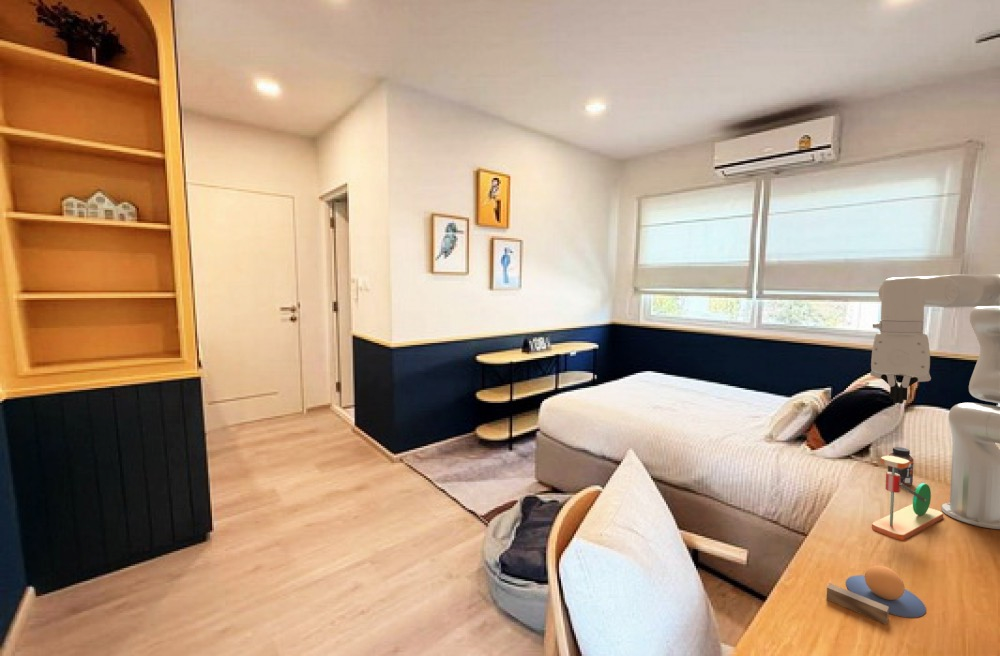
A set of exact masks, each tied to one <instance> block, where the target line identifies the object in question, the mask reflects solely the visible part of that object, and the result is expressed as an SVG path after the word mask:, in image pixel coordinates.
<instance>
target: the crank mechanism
mask: <svg viewBox="0 0 1000 656" xmlns="http://www.w3.org/2000/svg"><path fill="white" fill-rule="evenodd" d="M909 462H910V461H909V460H906V459H903V458H899V457H895V456H889V455H884V456H881V457H880V463H881V464H882V465H884V466H886V467H888V466H891V467H892V472H888V471H887V472H886V473H885V490H886V491H888V492H890V509H889V510H890V511H889V512H890V513H889V514H888V515H885V516H884V517H881V518H879V519H877V520H875V521H873V522H872V523H871V529H872V530H873V531H875V532H877V533H880V534H883V535H885V536H887V537H891V538H893V539H895V540H899V541H900V540H902V541H904V539H905V540H906V538H907V539H909V538H910V537H912V536H914V535H917V534H918V533H919V532H922V531H923V530H924V529H926V527H927V528H928V526H929V527H930V526H932V525H934V524H936V523H938V522H940V521H941V520H943V519H944V512H943V511H940V510H937V509H934V508H931V507H930V505H931V499H932V491H931V487H930V485H928V483H924V482H922V483H920V484H918V485H917V487H916V488H915V490H912V489H911V488H910V487H909V486H905V485H904V484H902V483H901V482H900V477H901V476H900V475H899V474H897V473H895V468H900V469H904V468H907V467H909ZM901 488H902V489H904V490H905V491H907V492H908V493H910V494H911V495H913V497H912V503H911V504H909V505H907V506H905V507H902V508H900V509H898V510H897V511H894V505H895V504H894V503H895V501H894V500H895V493H900V492H901ZM937 521H938V522H937ZM935 522H936V523H935ZM908 537H909V538H908Z"/></svg>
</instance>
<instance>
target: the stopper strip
mask: <svg viewBox="0 0 1000 656" xmlns="http://www.w3.org/2000/svg"><path fill="white" fill-rule="evenodd" d="M826 600H828V601H830V602H832V603H835V604H837V605H839V606H841V607H844V608H846V609H848V610H850V611H854V612H856V613H858V614H861V615H862V616H865V617H867V618H870V619H872V620H874V621H877V622H879V623H881V624H883V625H886V626H887V625H888V623H889V622H888V621H889V614H890V613H889V607H888V606H886V605H883V604H881V603H878V602H876V601H873V600H871V599H868V598H866V597H863V596H861V595H858V594H856V593H853V592H851V591H849V589H845V588H843V587H840V586H837V585H835V584H833V583H828V585H827V587H826Z"/></svg>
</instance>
